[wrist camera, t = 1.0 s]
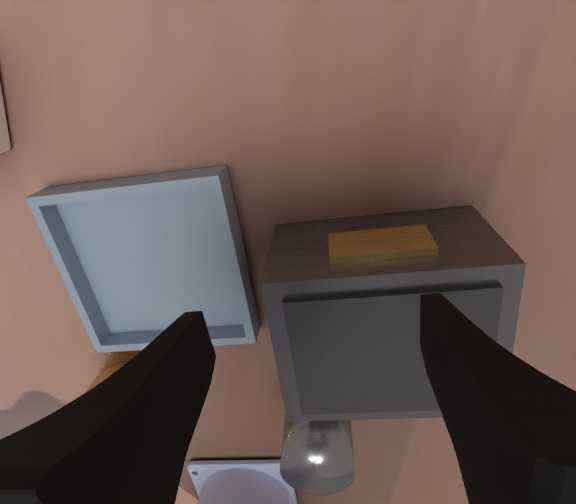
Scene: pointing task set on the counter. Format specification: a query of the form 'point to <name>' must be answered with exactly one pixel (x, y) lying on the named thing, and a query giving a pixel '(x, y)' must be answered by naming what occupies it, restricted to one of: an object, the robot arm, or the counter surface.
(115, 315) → the tray
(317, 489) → the part grey
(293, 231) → the unit
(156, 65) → the counter surface
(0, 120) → the jar
